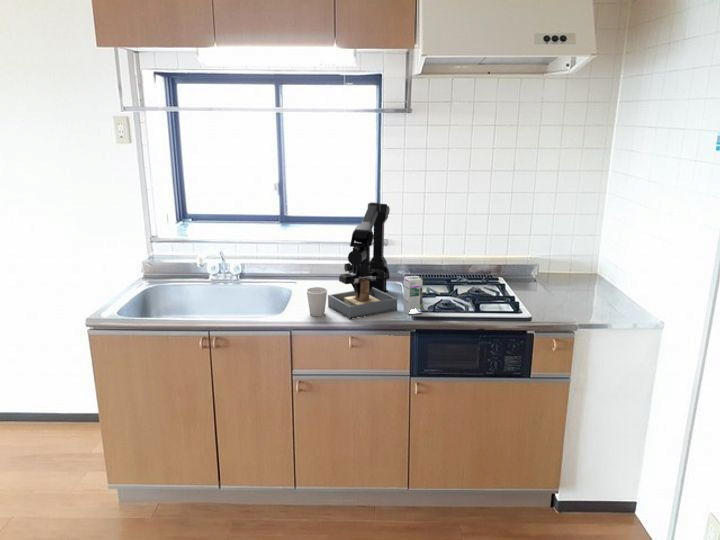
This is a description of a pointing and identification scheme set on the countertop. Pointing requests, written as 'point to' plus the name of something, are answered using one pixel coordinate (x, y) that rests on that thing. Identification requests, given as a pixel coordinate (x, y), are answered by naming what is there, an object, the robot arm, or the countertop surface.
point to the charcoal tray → (383, 306)
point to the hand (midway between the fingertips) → (362, 296)
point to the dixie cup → (317, 300)
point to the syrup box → (412, 293)
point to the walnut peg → (363, 290)
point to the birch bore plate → (353, 301)
